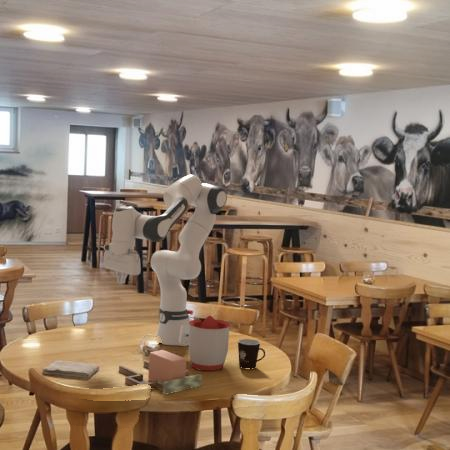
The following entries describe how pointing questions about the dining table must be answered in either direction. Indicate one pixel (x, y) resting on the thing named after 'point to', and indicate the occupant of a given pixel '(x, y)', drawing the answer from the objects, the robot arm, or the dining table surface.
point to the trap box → (165, 386)
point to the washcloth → (71, 369)
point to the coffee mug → (249, 352)
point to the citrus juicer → (208, 343)
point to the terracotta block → (166, 366)
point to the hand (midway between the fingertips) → (121, 283)
